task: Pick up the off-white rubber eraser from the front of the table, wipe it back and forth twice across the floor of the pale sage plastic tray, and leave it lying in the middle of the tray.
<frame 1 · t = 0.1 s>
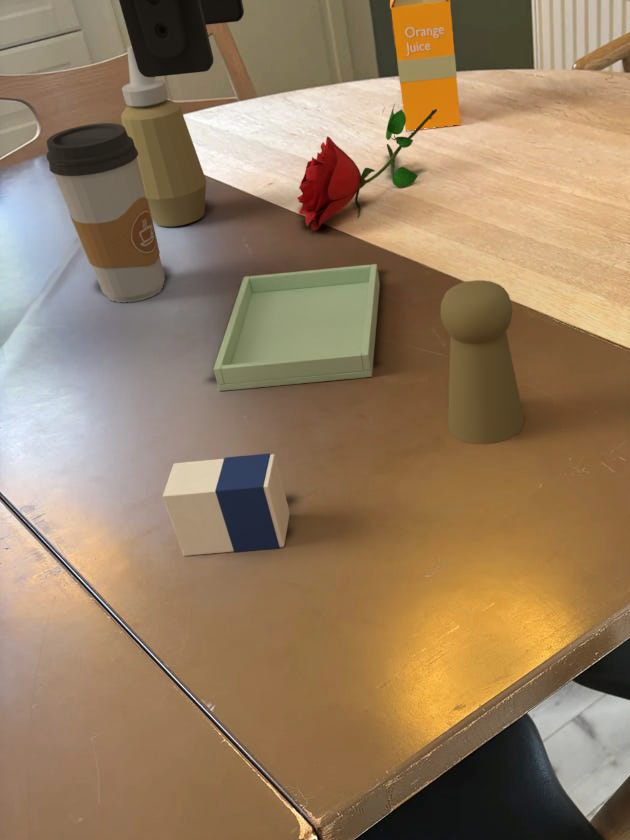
hand: (197, 45, 48), 31 cm above the table, tool pointing down, fingers open, 9 cm apart
eraser: (237, 534, 71), on the table
orange juice: (432, 120, 141), on the table
tray: (305, 334, 94), on the table
squeeze bottle: (180, 220, 120), on the table
flower: (374, 192, 121), on the table
coffee cup: (136, 292, 105), on the table
olive brown pawn figure: (486, 425, 80), on the table
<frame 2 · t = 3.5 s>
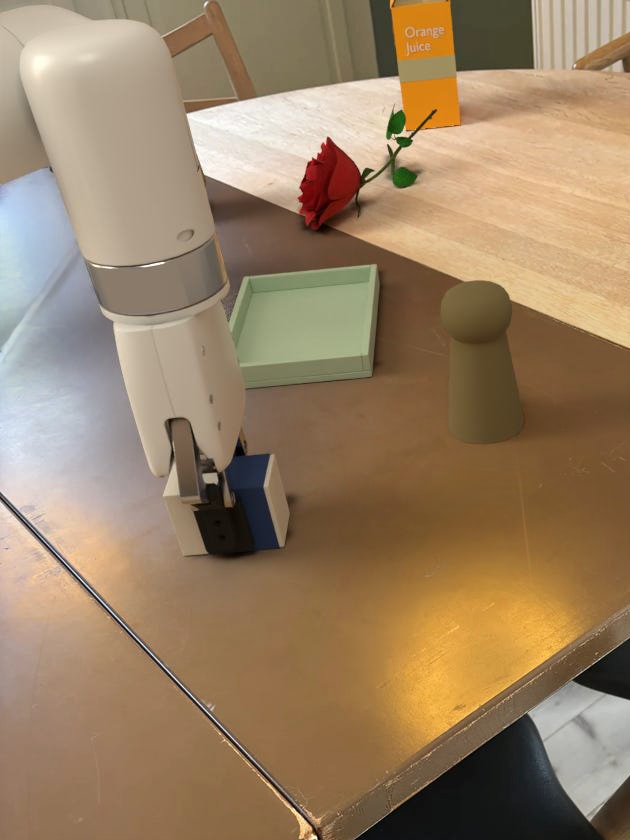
hand: (235, 526, 71), 1 cm above the table, tool pointing down, fingers closed on eraser, 4 cm apart
eraser: (237, 534, 71), on the table, touching gripper
everything else where it was.
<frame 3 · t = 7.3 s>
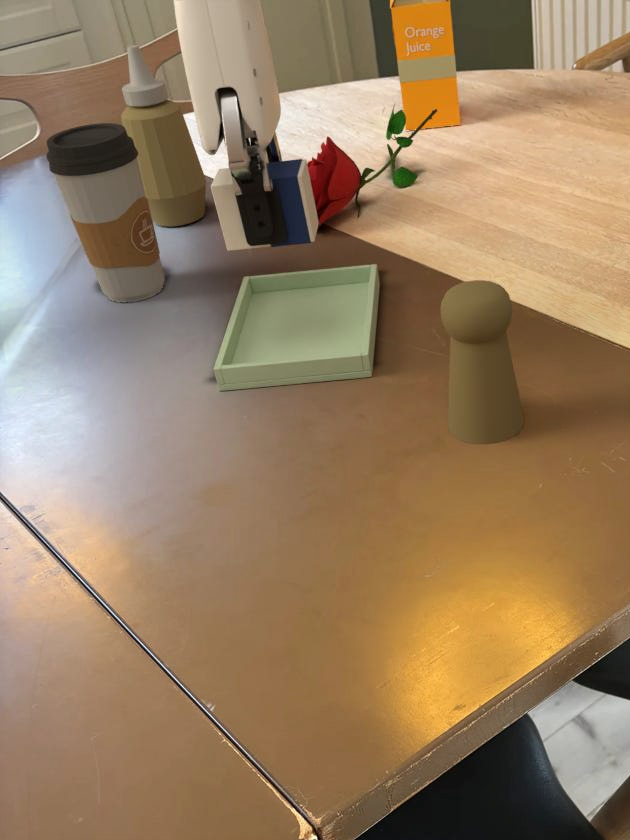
hand: (271, 229, 81), 12 cm above the table, tool pointing down, fingers closed on eraser, 4 cm apart
eraser: (273, 237, 82), point 11 cm above the table, touching gripper
everything else where it was.
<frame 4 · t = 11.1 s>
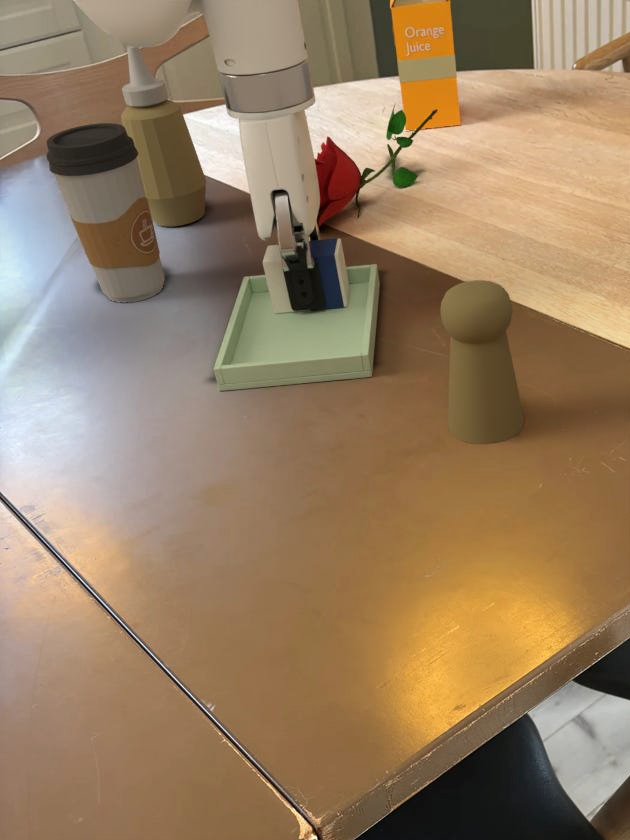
hand: (311, 295, 97), 1 cm above the table, tool pointing down, fingers closed on eraser, 4 cm apart
eraser: (312, 301, 98), point 1 cm above the table, touching gripper
everything else where it was.
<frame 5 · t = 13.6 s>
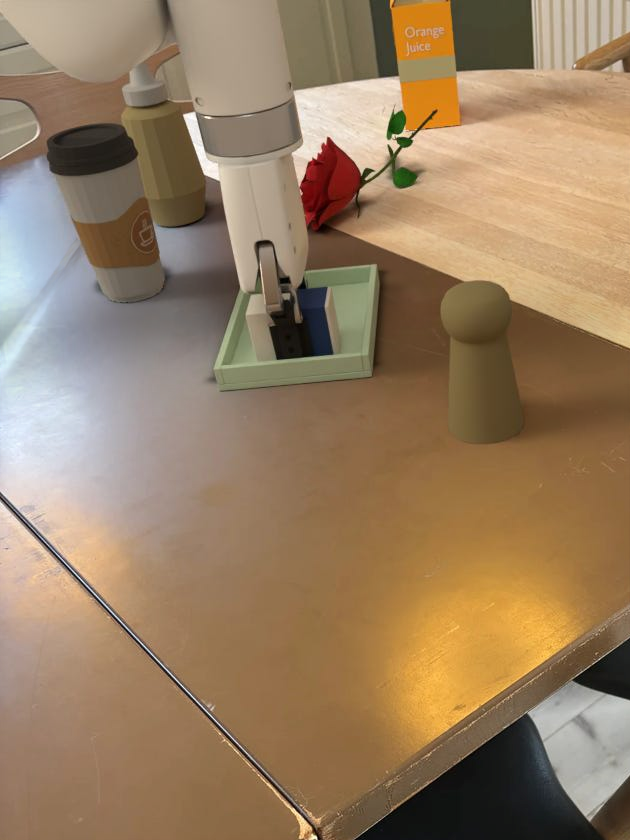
hand: (299, 349, 89), 1 cm above the table, tool pointing down, fingers closed on eraser, 4 cm apart
eraser: (300, 354, 89), point 1 cm above the table, touching gripper
everything else where it was.
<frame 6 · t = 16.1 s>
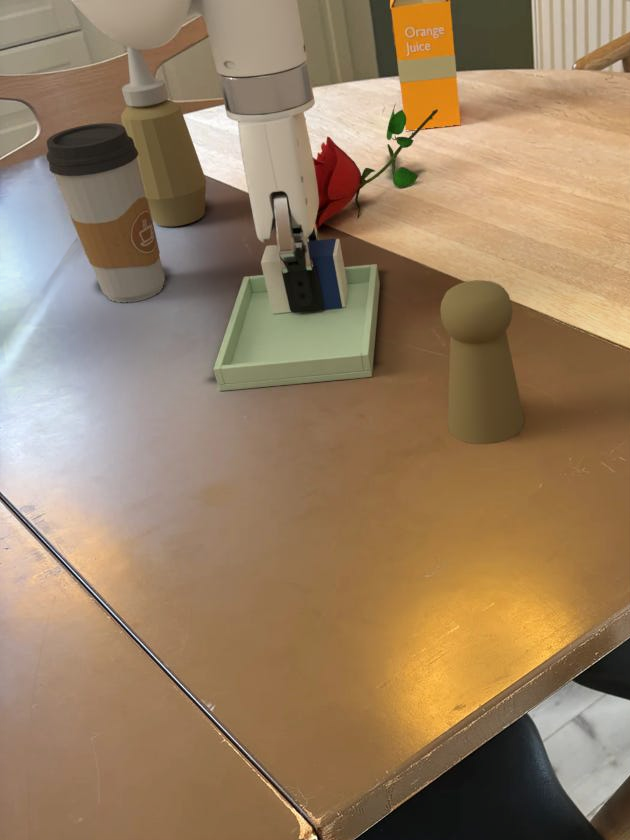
hand: (309, 297, 97), 1 cm above the table, tool pointing down, fingers closed on eraser, 4 cm apart
eraser: (311, 301, 98), point 1 cm above the table, touching gripper
everything else where it was.
when the fingers open (1 cm above the table, at t = 17.8 s): eraser stays where it is, resting on tray.
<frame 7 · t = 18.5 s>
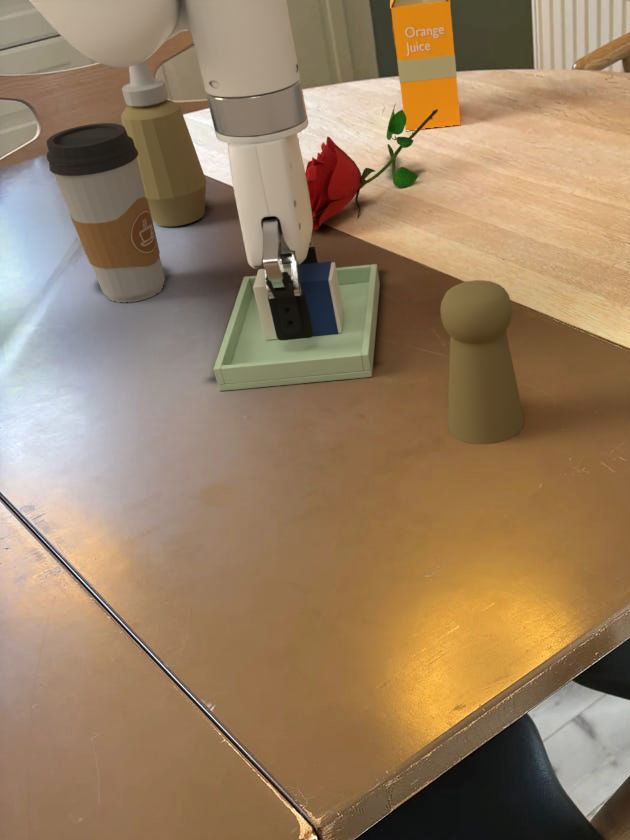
hand: (301, 313, 93), 2 cm above the table, tool pointing down, fingers open, 9 cm apart
eraser: (305, 327, 94), point 1 cm above the table, touching tray
everything else where it was.
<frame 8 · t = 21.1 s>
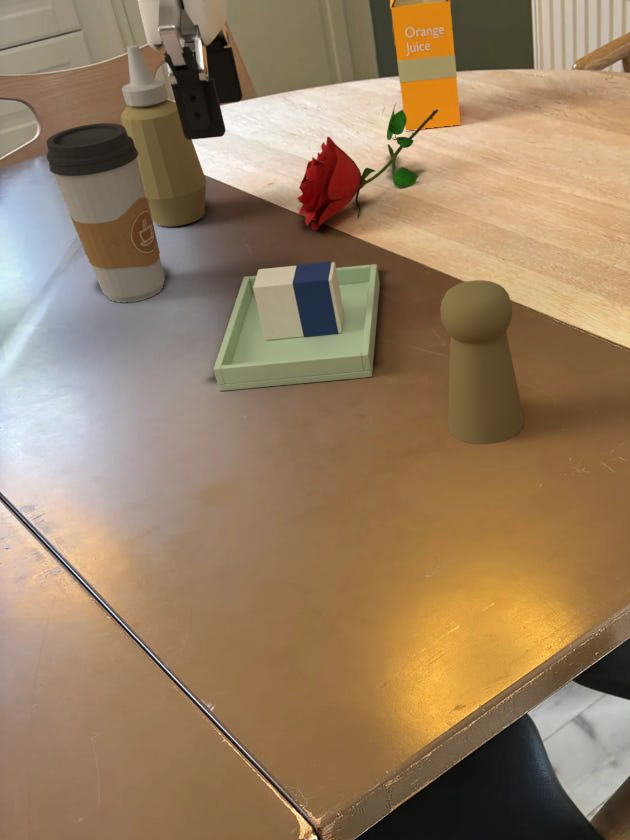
hand: (215, 118, 83), 18 cm above the table, tool pointing down, fingers open, 9 cm apart
nothing on the table moved.
at the end: eraser inside the target area in the tray (0.1 cm from its centre), point 0.6 cm above the tray's base; the gripper is holding nothing; eraser tilted 0° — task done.
